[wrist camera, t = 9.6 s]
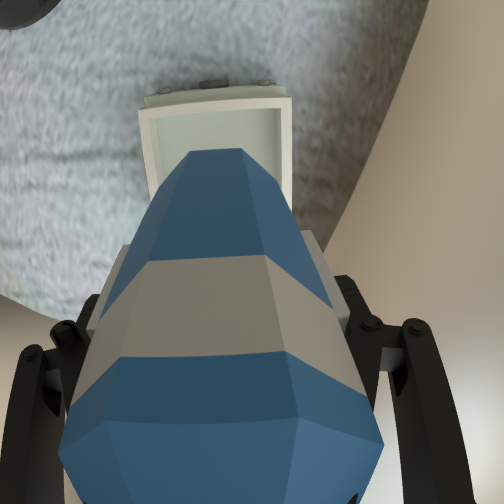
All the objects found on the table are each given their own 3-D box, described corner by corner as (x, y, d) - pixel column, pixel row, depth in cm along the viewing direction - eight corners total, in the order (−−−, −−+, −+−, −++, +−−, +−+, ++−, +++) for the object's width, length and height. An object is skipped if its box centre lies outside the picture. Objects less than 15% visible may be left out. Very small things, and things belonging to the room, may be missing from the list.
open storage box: (153, 87, 32) (135, 91, 25) (277, 77, 33) (291, 78, 26) (170, 218, 41) (160, 251, 34) (279, 210, 41) (290, 240, 35)
